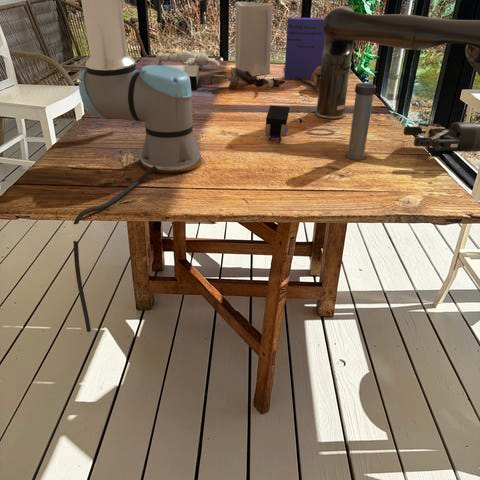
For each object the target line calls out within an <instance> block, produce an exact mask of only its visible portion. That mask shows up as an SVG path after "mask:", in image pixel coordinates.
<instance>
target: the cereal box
mask: <svg viewBox="0 0 480 480" xmlns="http://www.w3.org/2000/svg"><path fill="white" fill-rule="evenodd" d="M324 18H325V17H291V16H290V17H287V23H286V24H287V25H286V40H285V41H286V42H285V56H284V57H285V58H284V59H285V60H284V74H283V78H284V79H283V80H297V79H296V77H299V78H301V79H303V80H305V81H306V80H307V81H308V80H309V81H311V75H312V73H313V72H314V71H315V70H316V68H317V67H319V66H321V59H322V52H323V49H324V44H325V37H326V34H325V32H324V30H323V21H324Z"/></svg>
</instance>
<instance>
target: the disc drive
mask: <svg viewBox="0 0 480 480" xmlns="http://www.w3.org/2000/svg"><path fill="white" fill-rule="evenodd" d="M163 65H164V66H170V67H175V68H178V69H180V70H183V71H184V72H185V73H187V74H188V76H189V77H190V83H191V90H197V89H198V83H199V80H200V68H199V66H196V65H194V64H193V65H184V64H182V65H177V64H174V65H173V64H172V65H171V64H170V65H169V64H163Z"/></svg>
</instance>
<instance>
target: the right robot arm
mask: <svg viewBox="0 0 480 480" xmlns="http://www.w3.org/2000/svg"><path fill="white" fill-rule="evenodd" d="M323 18H324V21H323V30H324V32H325V34H326V37H325V44H324V49H323V52H322V59H321V70H320V81H319V91H318V92H317V100H316V101H317V102H316V110H315V116H317V117H319V118H322V119H327V120H339V119H343V118H344V117H345V108H346V103H347V102H346V101H347V92H348V85H349V77H350V70H351V69H350V68H351V62H352V61H351V60H352V55H353V51H354V44H355V42H365V43H366V42H367V43H371V44H372V43H373V44H375V45H381V46H386V47H392V48H397V49H402V50H411V51H423V50H427V49H428V50H429V49H430V48H435V47H438V46H441V45H447V44H460V45H461V44H462V45H466V46H465V51H464V54H465V57H466V59H467V61H468V63H469V64H470V65H471V66H472V68H473V69H474V70H475V72H476V73H477V74H478V76H480V19H479V20H478V19H450V18H439V17H438V18H437V17H430V16H429V17H428V16H422V15H415V14H414V15H413V14H404V13H403V14H402V13H401V14H400V13H398V14H397V13H392V14H389V13H388V14H374V15H373V14H366V13H362V12H358V11H357V12H356V11H355V10H353V9H352V7H349V6H346V5H338V6H336V7H334V8H332V9H331V10H330V11H328V13H327V14H326V15H325V16H324V17H323ZM295 80H297V81H300V82H301V83H303V84H305V85H307V86H309V87H311V88H313V89H314V90H316V88H315V87H313V83H310V82H308V80H307V81H306V79H301V78H299V77H296V79H295ZM402 134H403V135H404V136H415V137H414V140H413V146H414V147H428V148H429V149H433V150H434V151H450V152H469V153H470V152H474V153H476V152H478V153H479V152H480V122H466V121H465V122H463V121H456V122H452V124H451V125H450V126H449V127H448V128H446V127H444V126H441V124H440V123H421V122H420V123H418V125H417V126H404V128H403V132H402Z"/></svg>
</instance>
